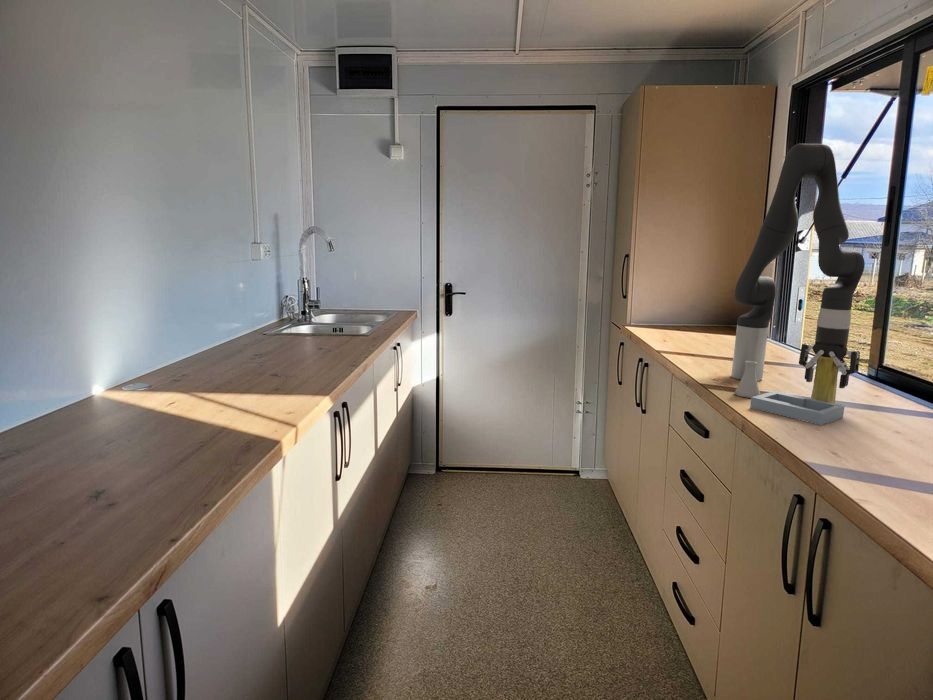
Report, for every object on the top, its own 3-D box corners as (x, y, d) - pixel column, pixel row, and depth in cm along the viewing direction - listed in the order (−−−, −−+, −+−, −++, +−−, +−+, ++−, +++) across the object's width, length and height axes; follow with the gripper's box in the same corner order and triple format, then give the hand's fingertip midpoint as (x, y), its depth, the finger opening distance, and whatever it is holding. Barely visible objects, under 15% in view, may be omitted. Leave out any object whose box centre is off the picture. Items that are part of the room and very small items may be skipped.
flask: (763, 399, 175) (767, 365, 173) (736, 397, 177) (740, 363, 175) (757, 393, 182) (761, 360, 180) (731, 391, 184) (735, 358, 182)
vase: (825, 411, 165) (833, 359, 162) (804, 405, 170) (811, 354, 168) (839, 408, 168) (847, 357, 165) (818, 403, 173) (825, 353, 170)
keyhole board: (773, 401, 174) (775, 390, 173) (843, 417, 160) (844, 405, 159) (750, 407, 166) (751, 397, 165) (820, 425, 152) (822, 413, 152)
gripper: (868, 328, 162) (859, 388, 165) (811, 321, 173) (804, 378, 176) (857, 330, 157) (847, 392, 160) (799, 323, 168) (791, 381, 171)
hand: (825, 384), depth 168 cm, fingers open, 8 cm apart
